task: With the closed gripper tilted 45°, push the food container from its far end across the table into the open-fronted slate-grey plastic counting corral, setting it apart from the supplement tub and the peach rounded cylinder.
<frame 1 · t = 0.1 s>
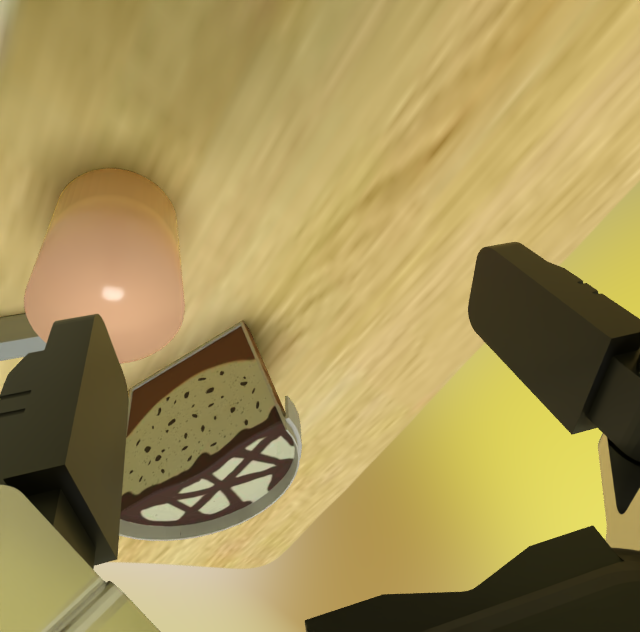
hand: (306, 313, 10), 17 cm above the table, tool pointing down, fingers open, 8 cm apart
food container: (211, 377, 34), on the table
peach rounded cylinder: (119, 222, 25), on the table
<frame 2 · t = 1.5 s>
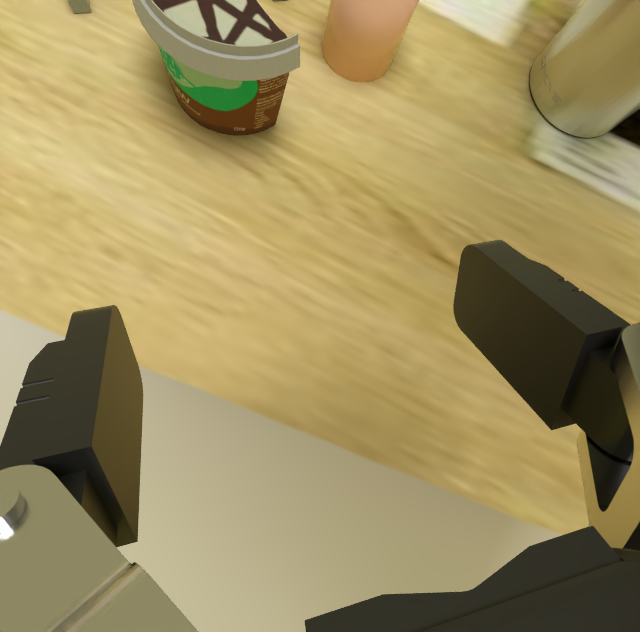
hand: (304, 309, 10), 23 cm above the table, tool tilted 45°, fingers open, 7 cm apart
food container: (205, 100, 36), on the table
peach rounded cylinder: (357, 49, 38), on the table
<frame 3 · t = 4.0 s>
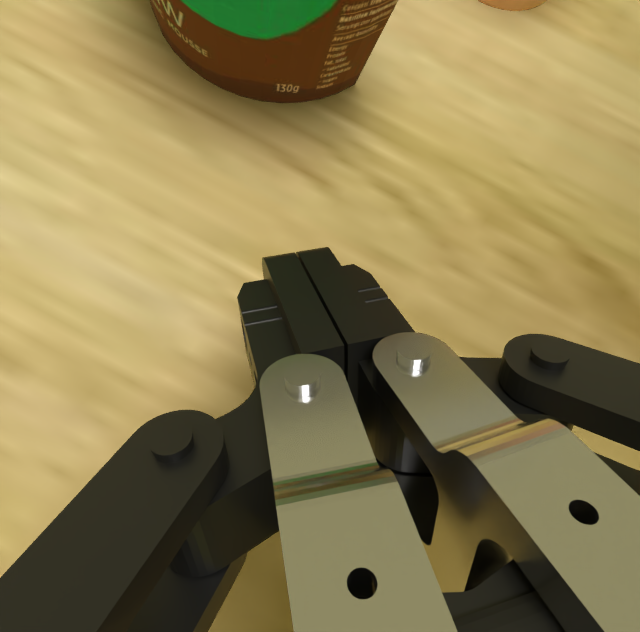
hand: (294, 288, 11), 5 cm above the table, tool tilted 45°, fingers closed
food container: (216, 32, 18), on the table
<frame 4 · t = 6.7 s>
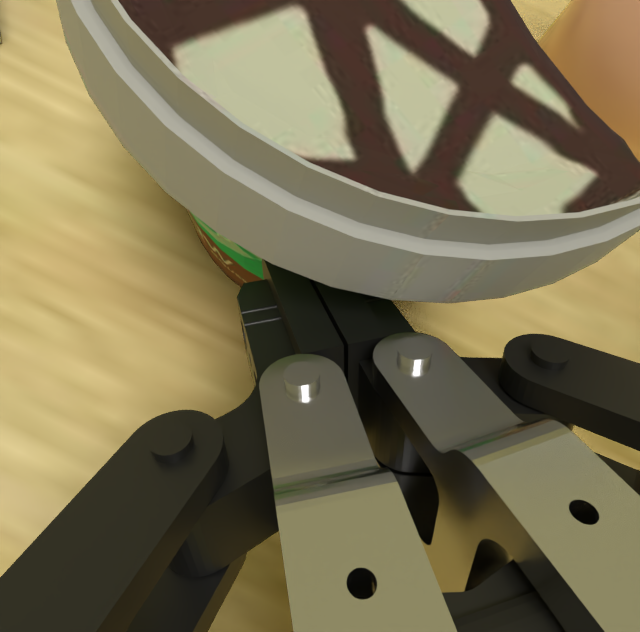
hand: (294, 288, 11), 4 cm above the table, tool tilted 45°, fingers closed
food container: (259, 231, 16), on the table, touching gripper
peach rounded cylinder: (567, 123, 19), on the table
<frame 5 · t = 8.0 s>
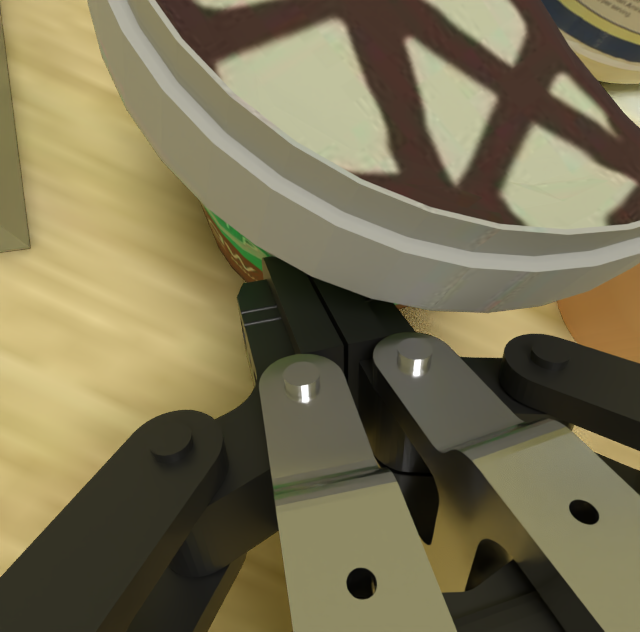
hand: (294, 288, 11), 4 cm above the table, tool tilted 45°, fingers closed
counting corral: (218, 20, 17), on the table
food container: (276, 236, 16), on the table, touching gripper
peach rounded cylinder: (627, 294, 17), on the table
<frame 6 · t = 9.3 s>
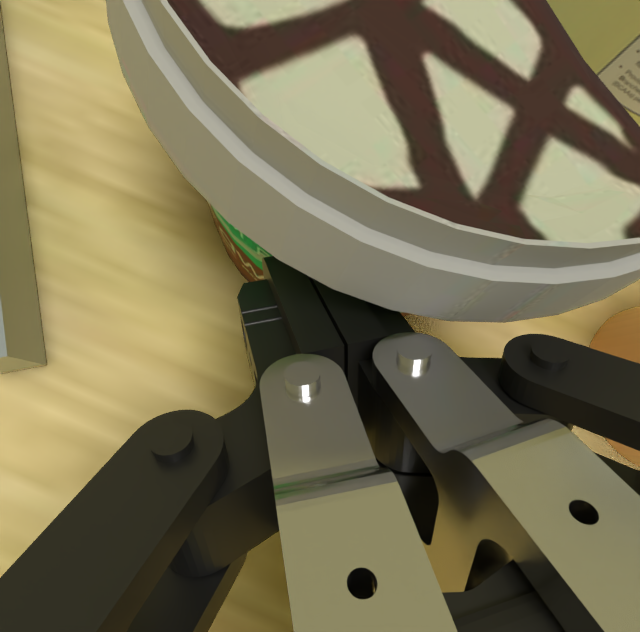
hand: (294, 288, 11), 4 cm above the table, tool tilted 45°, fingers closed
supplement tub: (604, 48, 20), on the table
counting corral: (237, 112, 16), on the table
food container: (285, 242, 16), on the table, touching gripper
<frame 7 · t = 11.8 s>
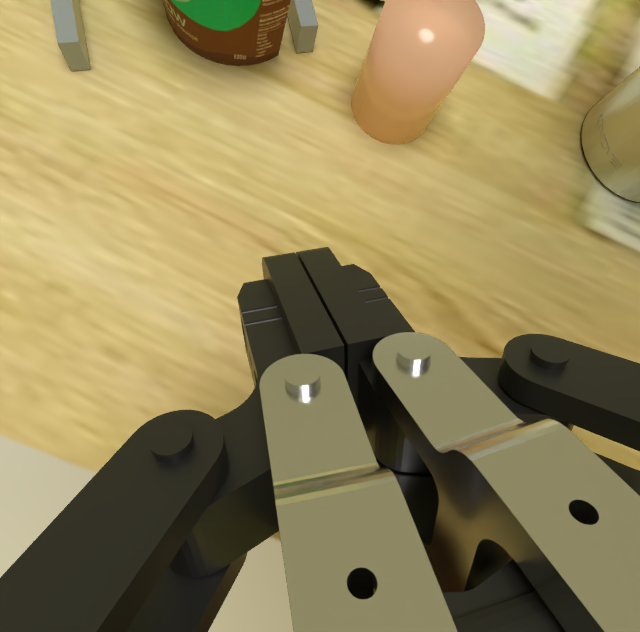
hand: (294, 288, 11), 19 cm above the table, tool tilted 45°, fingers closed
food container: (202, 29, 33), on the table
peach rounded cylinder: (391, 106, 34), on the table
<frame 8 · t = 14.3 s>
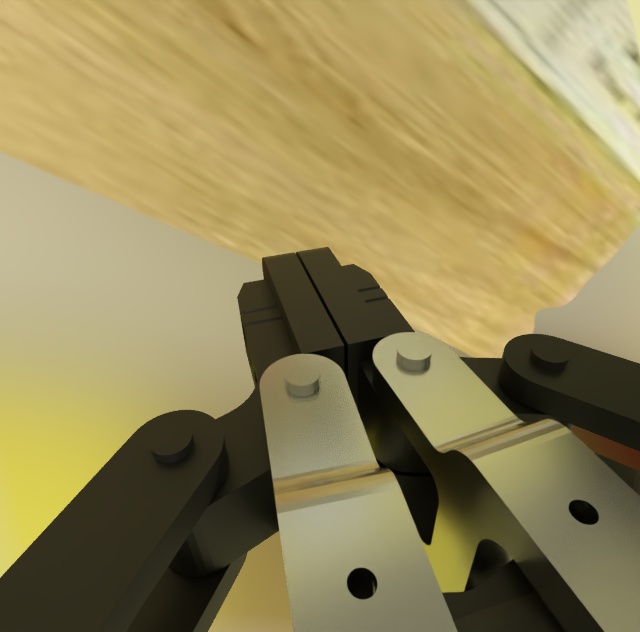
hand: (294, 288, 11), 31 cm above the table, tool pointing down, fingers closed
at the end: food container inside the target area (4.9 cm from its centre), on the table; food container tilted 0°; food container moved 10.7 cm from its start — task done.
